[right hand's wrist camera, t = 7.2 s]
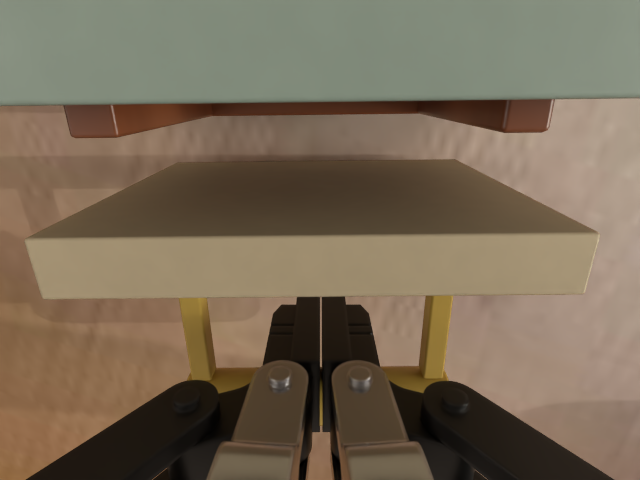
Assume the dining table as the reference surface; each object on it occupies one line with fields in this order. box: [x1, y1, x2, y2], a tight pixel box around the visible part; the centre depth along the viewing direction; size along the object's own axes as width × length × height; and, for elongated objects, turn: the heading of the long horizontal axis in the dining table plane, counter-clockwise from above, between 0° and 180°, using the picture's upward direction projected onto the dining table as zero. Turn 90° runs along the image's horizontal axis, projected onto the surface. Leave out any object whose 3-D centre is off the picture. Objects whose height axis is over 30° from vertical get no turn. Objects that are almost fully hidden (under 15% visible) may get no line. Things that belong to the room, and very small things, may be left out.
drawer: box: [25, 99, 600, 426], centre depth 9 cm, size 22×10×8 cm, turn 1°
